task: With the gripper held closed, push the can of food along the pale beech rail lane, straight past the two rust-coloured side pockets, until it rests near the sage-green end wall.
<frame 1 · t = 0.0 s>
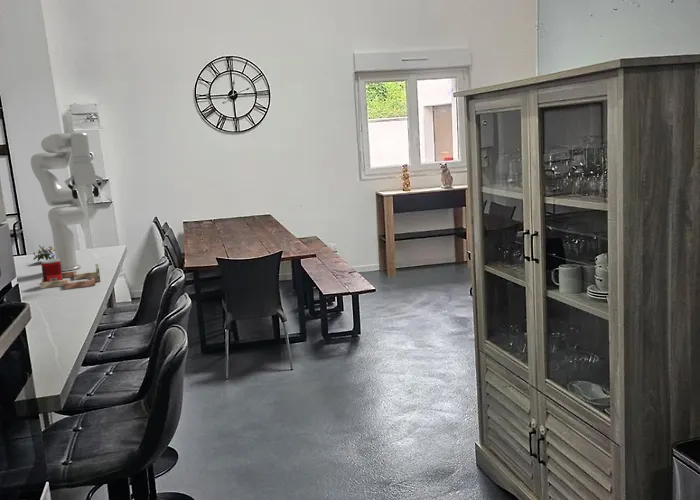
hand: (86, 197, 298), 37 cm above the table, tool pointing down, fingers open, 9 cm apart
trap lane: (68, 282, 293), on the table
canned food: (53, 284, 291), on the table
passion flower: (45, 263, 351), on the table
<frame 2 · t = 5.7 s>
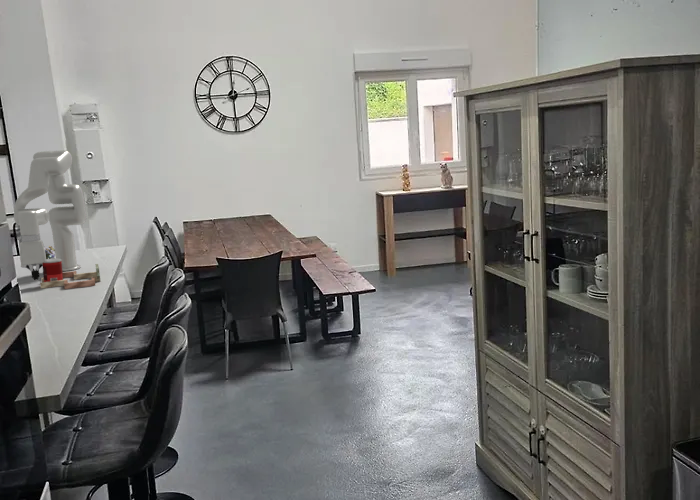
hand: (36, 279, 288), 3 cm above the table, tool pointing down, fingers closed
canned food: (53, 284, 291), on the table, touching gripper
everything else where it was.
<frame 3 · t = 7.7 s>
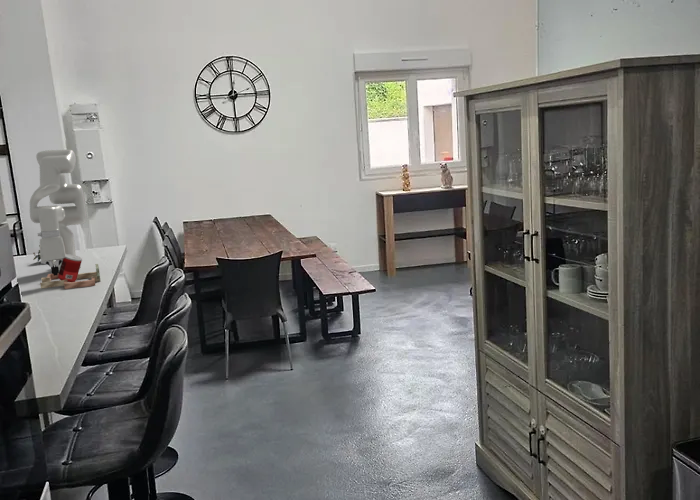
hand: (55, 275, 290), 4 cm above the table, tool pointing down, fingers closed
canned food: (66, 280, 293), point 1 cm above the table, touching gripper
everything else where it was.
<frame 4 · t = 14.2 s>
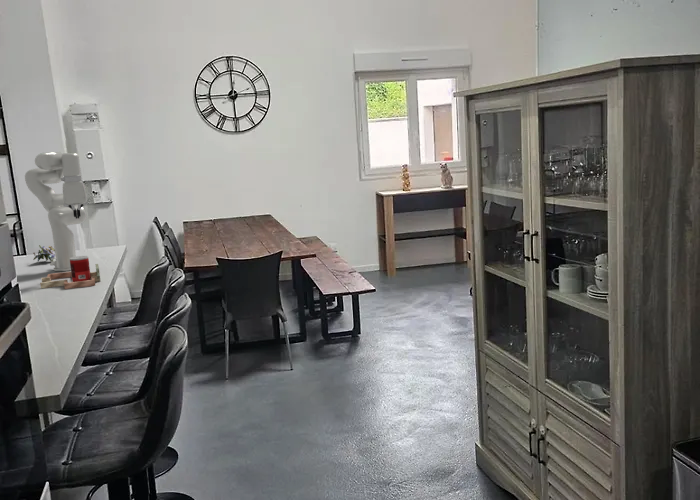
hand: (77, 218, 308), 27 cm above the table, tool pointing down, fingers closed
canned food: (81, 281, 296), on the table
everything else where it was.
at the end: canned food inside the target area on the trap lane (2.4 cm from its centre), point 0.0 cm above the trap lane's base; canned food tilted 0° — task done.
